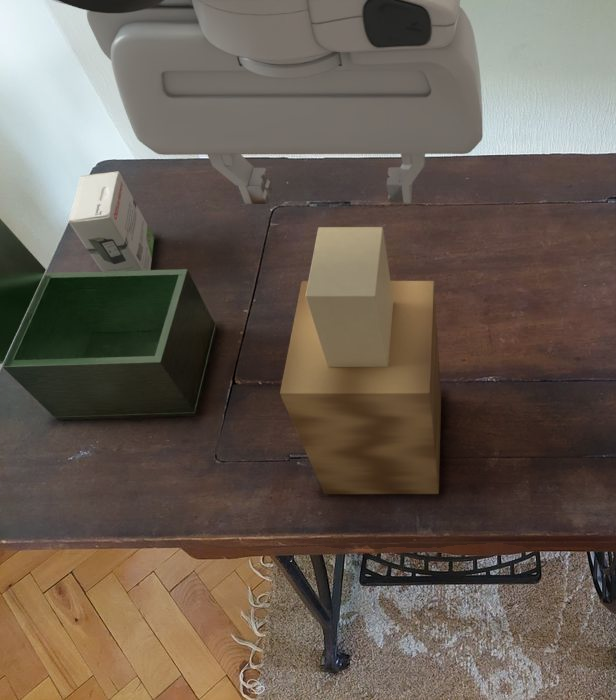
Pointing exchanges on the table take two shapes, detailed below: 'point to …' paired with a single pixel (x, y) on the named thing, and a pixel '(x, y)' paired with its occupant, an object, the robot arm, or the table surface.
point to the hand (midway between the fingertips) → (330, 197)
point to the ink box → (111, 223)
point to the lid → (15, 285)
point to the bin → (115, 345)
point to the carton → (351, 296)
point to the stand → (370, 403)
